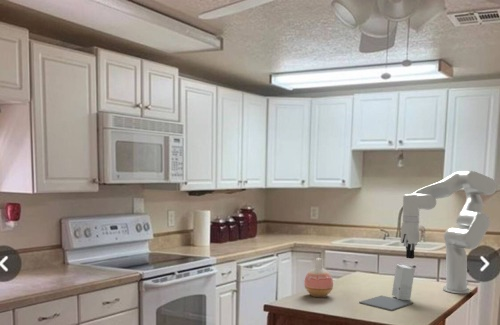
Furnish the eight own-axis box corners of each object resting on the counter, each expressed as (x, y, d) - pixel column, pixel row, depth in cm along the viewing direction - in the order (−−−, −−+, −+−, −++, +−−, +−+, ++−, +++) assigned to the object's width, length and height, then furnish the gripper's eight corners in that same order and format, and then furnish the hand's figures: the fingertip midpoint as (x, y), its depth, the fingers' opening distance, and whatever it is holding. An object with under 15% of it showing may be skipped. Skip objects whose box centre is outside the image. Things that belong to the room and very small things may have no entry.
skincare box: (391, 295, 222) (395, 263, 223) (403, 296, 223) (407, 265, 224) (398, 299, 214) (402, 267, 215) (411, 301, 215) (415, 268, 215)
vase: (315, 291, 231) (315, 255, 232) (338, 296, 222) (339, 258, 222) (298, 295, 221) (298, 258, 222) (322, 301, 212) (322, 262, 212)
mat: (381, 296, 222) (381, 295, 222) (412, 303, 210) (412, 302, 210) (359, 303, 210) (359, 301, 210) (391, 310, 198) (391, 309, 198)
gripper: (411, 218, 234) (410, 255, 233) (395, 219, 224) (394, 258, 223) (425, 220, 228) (425, 258, 227) (410, 220, 218) (409, 260, 217)
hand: (410, 258), depth 225 cm, fingers closed
